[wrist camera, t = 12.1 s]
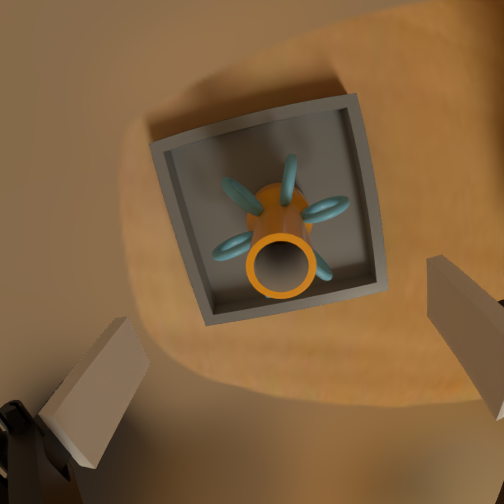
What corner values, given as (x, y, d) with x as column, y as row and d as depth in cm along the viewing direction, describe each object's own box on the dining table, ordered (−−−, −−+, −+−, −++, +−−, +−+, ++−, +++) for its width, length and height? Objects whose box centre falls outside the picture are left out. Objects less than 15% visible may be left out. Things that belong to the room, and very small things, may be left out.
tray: (349, 97, 29) (356, 92, 26) (380, 278, 35) (388, 290, 32) (159, 143, 32) (148, 143, 29) (210, 312, 38) (205, 325, 35)
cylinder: (235, 143, 30) (201, 144, 16) (340, 161, 30) (391, 178, 16) (220, 259, 35) (184, 339, 20) (317, 274, 34) (339, 362, 20)
